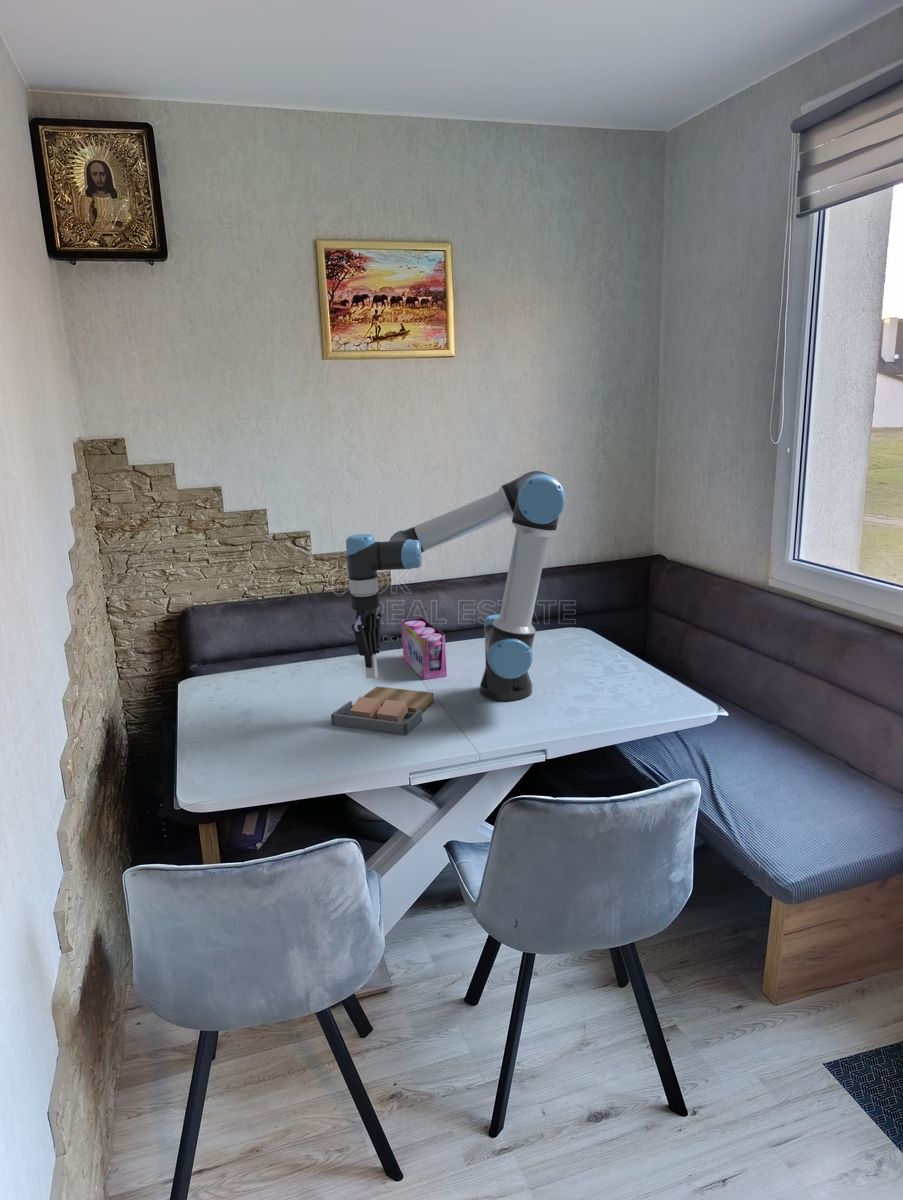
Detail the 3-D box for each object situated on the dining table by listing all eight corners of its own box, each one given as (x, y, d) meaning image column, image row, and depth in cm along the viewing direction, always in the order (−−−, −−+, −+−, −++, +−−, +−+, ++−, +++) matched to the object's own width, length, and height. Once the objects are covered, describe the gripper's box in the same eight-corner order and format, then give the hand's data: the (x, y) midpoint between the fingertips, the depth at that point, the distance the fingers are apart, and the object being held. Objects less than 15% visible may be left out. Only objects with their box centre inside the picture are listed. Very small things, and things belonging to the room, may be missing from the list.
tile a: (408, 710, 207) (406, 702, 206) (399, 725, 202) (397, 716, 201) (388, 708, 209) (386, 699, 208) (378, 722, 205) (376, 713, 203)
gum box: (449, 677, 238) (447, 635, 234) (425, 681, 235) (423, 639, 232) (425, 655, 259) (423, 617, 256) (402, 659, 257) (400, 620, 253)
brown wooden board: (433, 702, 218) (433, 692, 217) (416, 718, 207) (415, 708, 206) (377, 695, 225) (376, 686, 224) (357, 711, 214) (356, 701, 213)
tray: (422, 720, 206) (421, 710, 205) (406, 735, 197) (405, 724, 196) (350, 711, 214) (349, 701, 213) (331, 725, 205) (331, 714, 204)
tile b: (381, 707, 210) (379, 699, 208) (371, 721, 205) (369, 712, 204) (361, 705, 212) (359, 696, 211) (352, 719, 207) (349, 710, 206)
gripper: (363, 586, 210) (371, 668, 216) (339, 598, 199) (348, 684, 205) (388, 587, 208) (395, 670, 213) (365, 600, 196) (373, 686, 202)
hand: (372, 677), depth 209 cm, fingers closed
